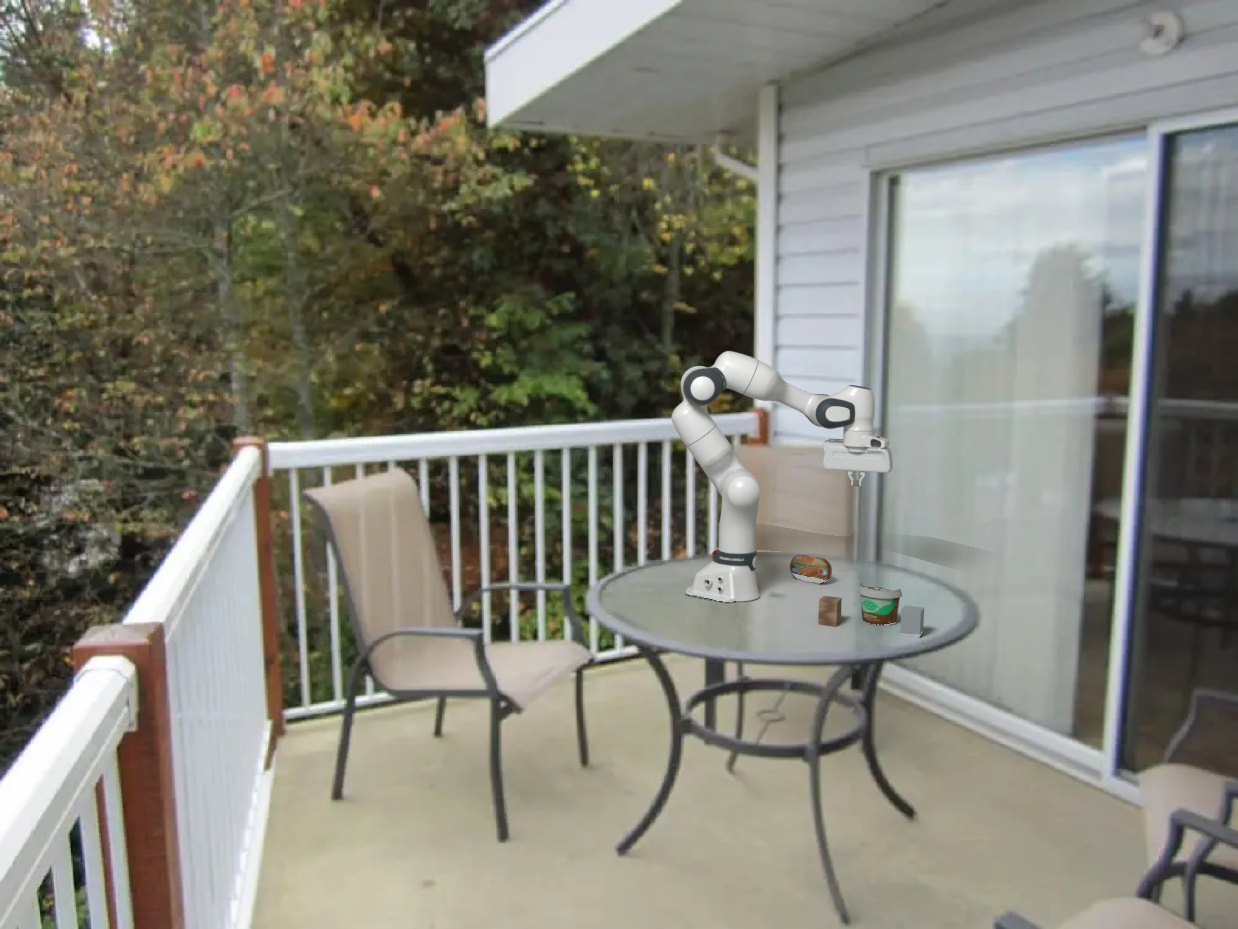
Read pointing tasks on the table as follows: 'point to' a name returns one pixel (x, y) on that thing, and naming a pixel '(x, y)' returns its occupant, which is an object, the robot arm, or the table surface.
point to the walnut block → (829, 611)
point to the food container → (879, 604)
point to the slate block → (912, 620)
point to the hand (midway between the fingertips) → (856, 486)
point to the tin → (811, 567)
